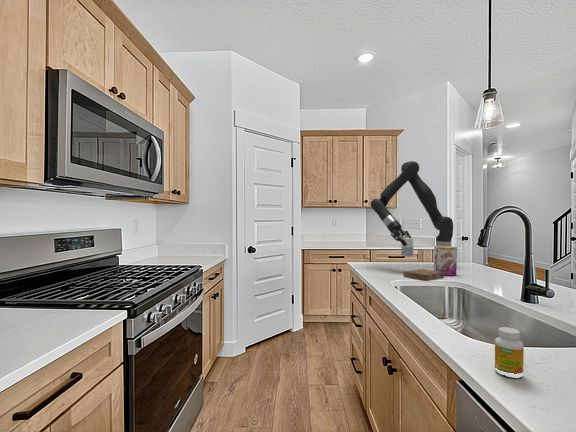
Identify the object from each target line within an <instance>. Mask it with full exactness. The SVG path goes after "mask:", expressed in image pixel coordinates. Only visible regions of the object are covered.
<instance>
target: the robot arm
mask: <svg viewBox="0 0 576 432" xmlns="http://www.w3.org/2000/svg"><path fill="white" fill-rule="evenodd" d="M400 169H401V170H400V171H401V172H400V174H399V175H398V176H397V177H396V178H395V179H394V180H393V181H392V182H390V183H389V184H388V185H387V186H386V187H385V188H384V189H383V191H381V193H380V198H373V199H372V200H371V201H370V206H371V209H372V210H373V211H374V212H375V213H376V214H377V215H378V217H379V219H380V220H381V221H382V222H383V224H384V226H385V227H386V228H387V230H388V231H389V233H390V236H391V237H392V238H393V239H394V240H396V242H400V243H402V244H403V246H406V245H407V243H406V242H405V241H404V239H403V238H412V236H411V234H410V233H409V231H408V230H404V229H402V227H403V226H402V225H401V223H400V222H399V220H397V218H396V217H395V216H394V215H393V213H391V212H390V211H389V209H388V208H387V206H388V204H389V202H390V201H391V200H392V198H393V197H394V196H395V195H396V194H397V193H398V192H399V190H400V189H401V188H402V187H404V185H405V184H406V183H407V182H408V183H409V184H410V186H411V188H412V189H413V191H414V193H415V194H416V196H417V198H418V200H419V201H420V203H421V205H422V206H423V208H424V210H425V211H426V212H427V214H428V216H429V218H430V220H431V223H432V225H433V227H434V228H435V229H436V230H437V231H439V233H438V235H437V236H435V246H444V247H452V240H453V235H454V222H453V219H452V218H451V217H449V216H443V215H442V214H441V212H440V210H439V209H438V203H437V198H436V196H435V194H434V192H433V191H432V189H431V187H429V185H428V184H426V183H425V181H424V180H422V179H421V177H420V175H419V171H420V165H419V163H418V162H417V161H414V160H409V161H406V162H404V163H403V164H402V165H401V167H400Z"/></svg>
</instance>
